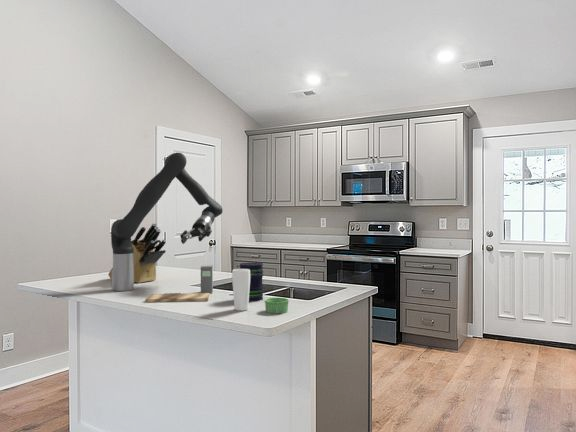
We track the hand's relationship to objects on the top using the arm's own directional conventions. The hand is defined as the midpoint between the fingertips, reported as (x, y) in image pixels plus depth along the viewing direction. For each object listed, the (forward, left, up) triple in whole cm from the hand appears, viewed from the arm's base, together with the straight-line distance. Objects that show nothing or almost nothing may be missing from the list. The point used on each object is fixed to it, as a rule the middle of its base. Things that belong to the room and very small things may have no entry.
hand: (190, 240), depth 211 cm
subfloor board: (-3, -18, -23) cm, 30 cm away
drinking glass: (+24, -42, -24) cm, 54 cm away
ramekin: (+37, -46, -24) cm, 63 cm away
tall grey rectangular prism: (+8, -4, -23) cm, 25 cm away
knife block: (-32, +35, -24) cm, 54 cm away
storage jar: (+28, -22, -24) cm, 42 cm away
